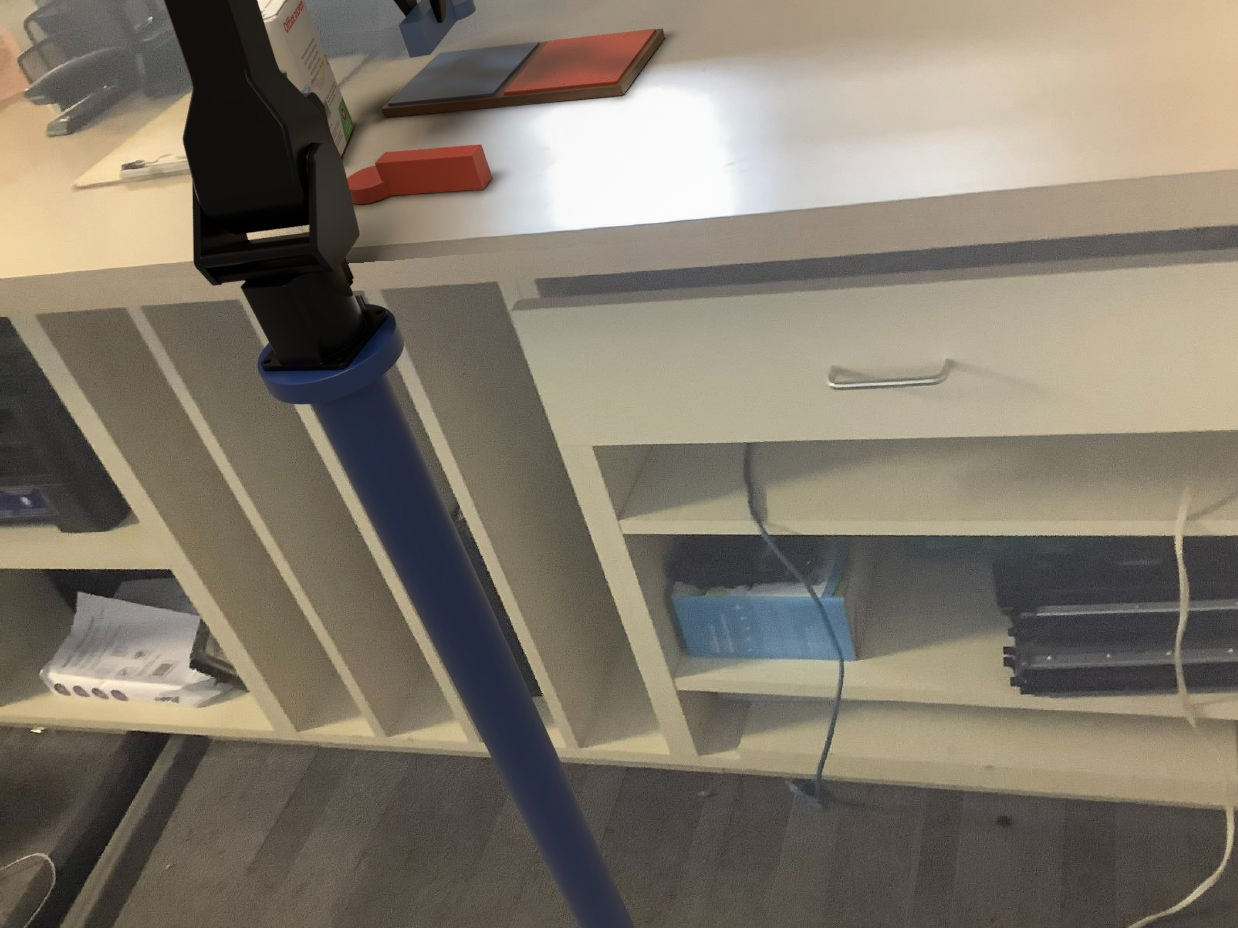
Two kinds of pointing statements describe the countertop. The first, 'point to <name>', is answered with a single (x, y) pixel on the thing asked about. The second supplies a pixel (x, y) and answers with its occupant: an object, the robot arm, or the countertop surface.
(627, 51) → the sorting board
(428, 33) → the blue rounded tab block
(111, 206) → the countertop surface
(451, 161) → the red stepped handle block
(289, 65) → the ink box
